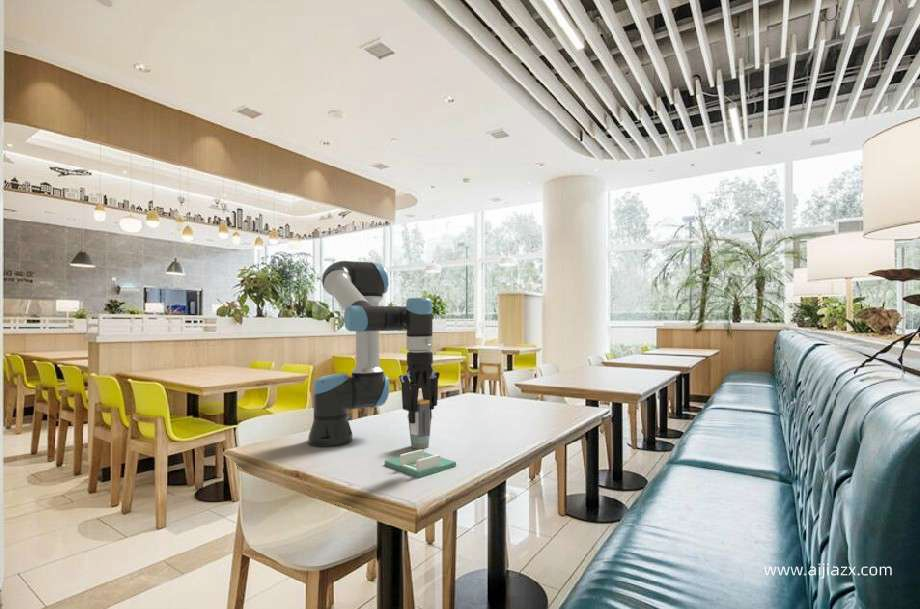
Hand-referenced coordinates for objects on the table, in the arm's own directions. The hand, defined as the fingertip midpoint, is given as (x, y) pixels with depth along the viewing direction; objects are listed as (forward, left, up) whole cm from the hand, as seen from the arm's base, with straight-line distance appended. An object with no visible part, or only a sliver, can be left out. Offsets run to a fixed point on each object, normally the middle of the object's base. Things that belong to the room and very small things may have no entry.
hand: (420, 433), depth 134 cm
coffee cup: (-19, +16, -11) cm, 27 cm away
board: (-3, +3, -10) cm, 11 cm away
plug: (0, 0, -1) cm, 1 cm away
